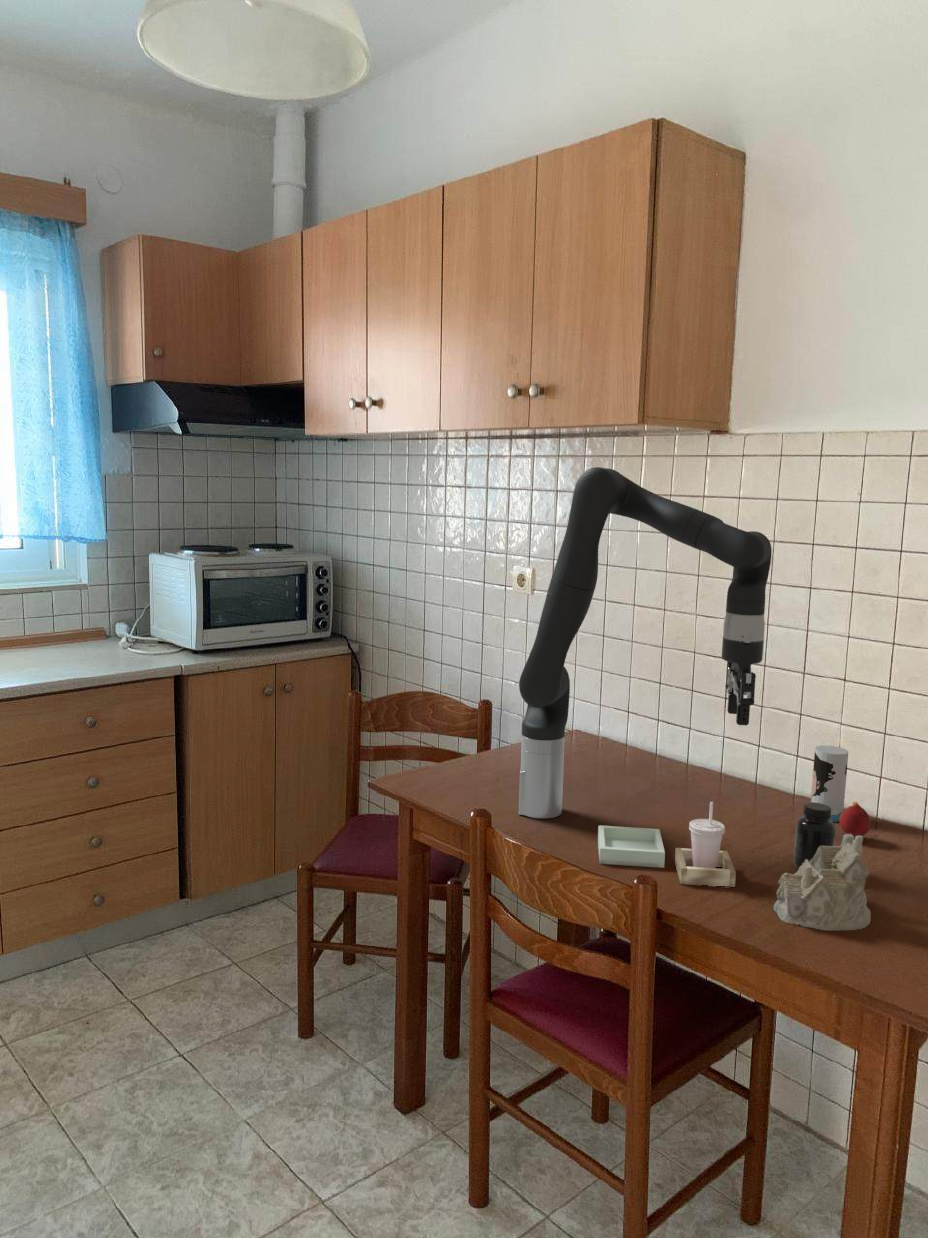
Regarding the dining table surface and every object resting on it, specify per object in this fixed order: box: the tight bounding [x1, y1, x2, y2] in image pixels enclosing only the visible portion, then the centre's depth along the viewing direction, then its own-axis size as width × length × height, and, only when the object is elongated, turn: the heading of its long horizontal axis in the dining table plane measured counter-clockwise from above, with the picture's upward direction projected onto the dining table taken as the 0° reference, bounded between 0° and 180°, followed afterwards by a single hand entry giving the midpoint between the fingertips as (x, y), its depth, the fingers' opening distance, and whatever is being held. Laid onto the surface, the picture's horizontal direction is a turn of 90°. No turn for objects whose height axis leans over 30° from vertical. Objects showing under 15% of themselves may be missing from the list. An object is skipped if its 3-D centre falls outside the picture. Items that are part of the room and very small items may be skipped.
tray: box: [597, 825, 666, 869], centre depth 179 cm, size 12×12×3 cm
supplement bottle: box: [793, 802, 836, 869], centre depth 174 cm, size 7×7×12 cm
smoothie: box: [688, 801, 726, 868], centre depth 169 cm, size 6×6×14 cm
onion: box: [839, 800, 871, 839], centre depth 189 cm, size 6×6×8 cm
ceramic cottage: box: [773, 833, 872, 932], centre depth 157 cm, size 16×16×15 cm
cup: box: [810, 744, 849, 823], centre depth 201 cm, size 7×7×15 cm
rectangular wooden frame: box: [674, 847, 737, 888], centre depth 170 cm, size 10×10×3 cm
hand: (737, 719), depth 179 cm, fingers open, 8 cm apart
